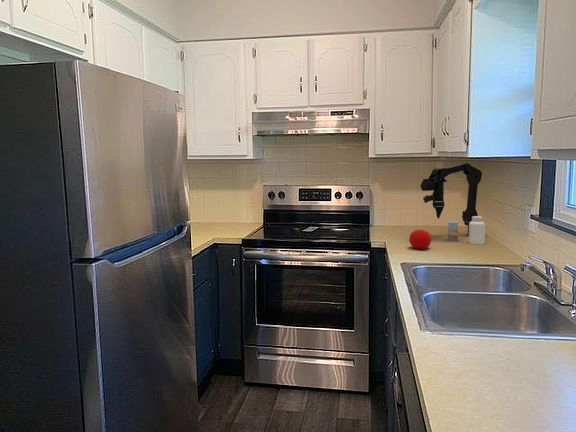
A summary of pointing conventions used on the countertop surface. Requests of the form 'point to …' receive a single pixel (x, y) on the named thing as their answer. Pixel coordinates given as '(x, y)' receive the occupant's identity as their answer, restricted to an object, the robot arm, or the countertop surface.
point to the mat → (451, 241)
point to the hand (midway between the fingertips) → (438, 217)
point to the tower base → (452, 237)
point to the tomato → (420, 239)
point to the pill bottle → (476, 230)
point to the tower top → (452, 231)
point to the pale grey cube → (452, 224)
